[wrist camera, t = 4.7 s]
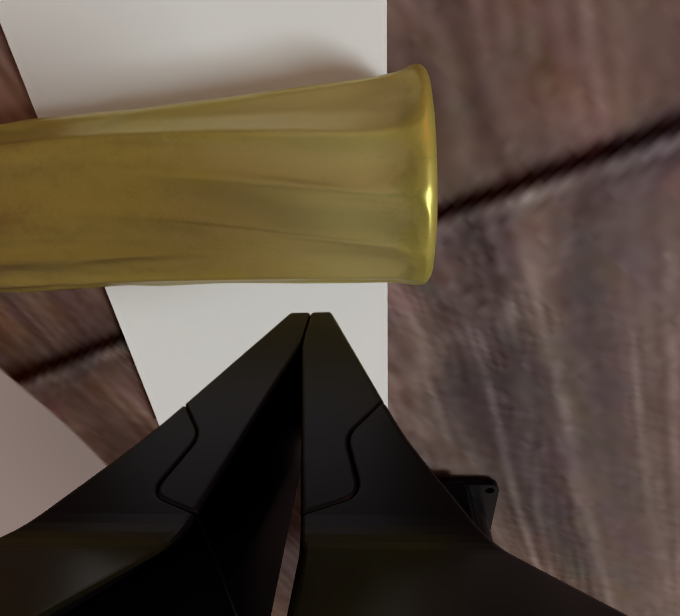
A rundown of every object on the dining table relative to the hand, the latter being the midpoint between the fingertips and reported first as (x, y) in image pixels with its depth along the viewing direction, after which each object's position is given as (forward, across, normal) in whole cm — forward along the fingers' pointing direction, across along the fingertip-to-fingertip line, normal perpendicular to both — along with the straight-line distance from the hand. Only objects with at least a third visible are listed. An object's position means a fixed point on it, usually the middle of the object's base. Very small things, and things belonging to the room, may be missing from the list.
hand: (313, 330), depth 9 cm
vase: (+6, -3, -1) cm, 7 cm away
